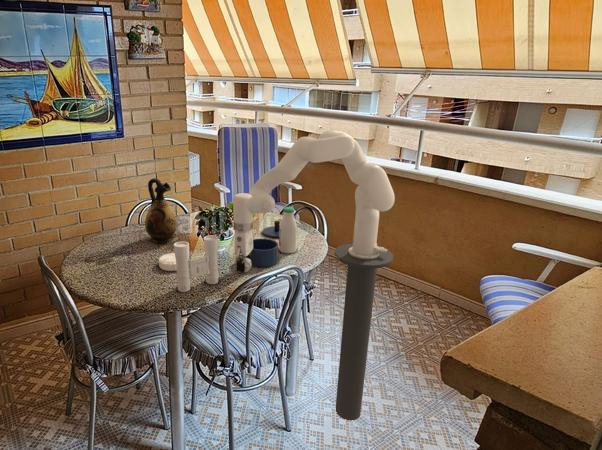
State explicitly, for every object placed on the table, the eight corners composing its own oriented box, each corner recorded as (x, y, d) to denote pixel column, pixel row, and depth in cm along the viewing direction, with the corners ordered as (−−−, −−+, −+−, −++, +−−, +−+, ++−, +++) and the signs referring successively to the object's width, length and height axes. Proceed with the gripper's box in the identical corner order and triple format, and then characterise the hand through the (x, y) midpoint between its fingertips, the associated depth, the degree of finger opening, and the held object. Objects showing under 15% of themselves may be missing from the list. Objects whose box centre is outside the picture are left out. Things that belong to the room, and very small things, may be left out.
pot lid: (293, 230, 208) (294, 218, 206) (287, 239, 196) (288, 227, 194) (266, 227, 213) (267, 215, 211) (259, 236, 201) (259, 224, 199)
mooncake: (153, 266, 171) (152, 258, 170) (174, 256, 179) (173, 249, 178) (173, 274, 164) (172, 265, 162) (193, 263, 172) (193, 256, 171)
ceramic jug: (184, 237, 202) (180, 177, 192) (164, 247, 190) (159, 184, 180) (157, 231, 211) (153, 174, 201) (137, 241, 198) (131, 180, 188)
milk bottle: (299, 250, 184) (301, 207, 177) (289, 255, 178) (290, 211, 172) (285, 245, 189) (286, 204, 182) (275, 250, 184) (276, 208, 177)
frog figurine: (232, 271, 165) (231, 255, 162) (246, 267, 168) (246, 251, 166) (240, 277, 160) (240, 260, 157) (255, 272, 163) (255, 256, 161)
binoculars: (180, 293, 148) (177, 248, 142) (174, 287, 153) (171, 243, 147) (221, 282, 156) (220, 238, 150) (215, 276, 160) (214, 234, 154)
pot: (280, 256, 177) (281, 240, 175) (273, 269, 166) (273, 252, 163) (251, 252, 182) (251, 237, 179) (242, 264, 170) (242, 248, 168)
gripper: (245, 234, 148) (245, 278, 154) (258, 219, 163) (258, 260, 169) (226, 232, 151) (227, 275, 157) (241, 217, 166) (241, 258, 172)
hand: (243, 267), depth 163 cm, fingers closed on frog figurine, 6 cm apart
